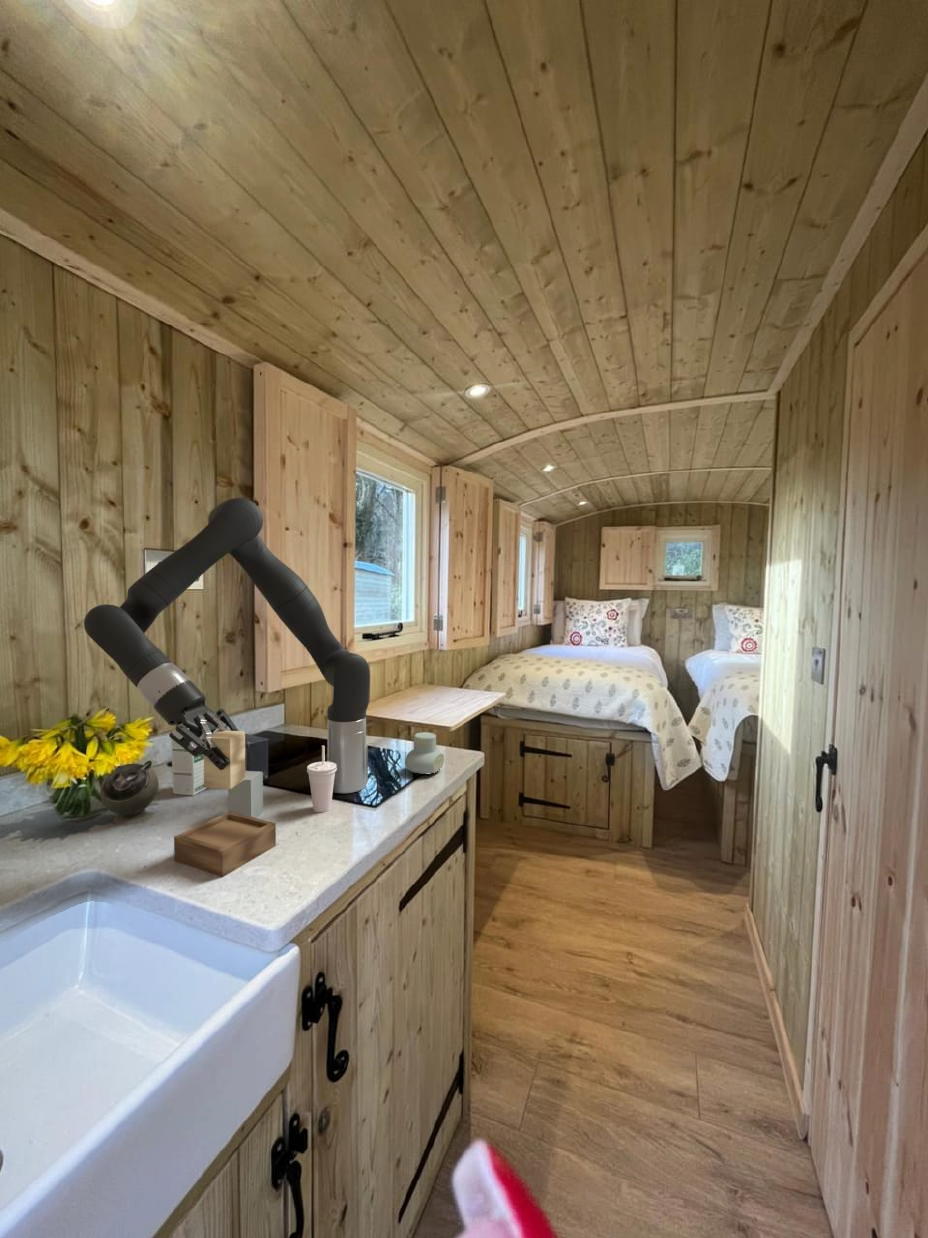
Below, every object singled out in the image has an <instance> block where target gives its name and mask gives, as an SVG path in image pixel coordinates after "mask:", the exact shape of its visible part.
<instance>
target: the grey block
mask: <svg viewBox="0 0 928 1238" xmlns="http://www.w3.org/2000/svg"><path fill="white" fill-rule="evenodd" d="M263 781H264V780H263V772H259V771H245V780H243V781H242V782H240V783H239V784H237V785H236V786H234V787H233V788H231V789H227V798H228V799H227V801H228V802H227V804H228V805H227V806H228V807H227V808H228V812H229V811H230V812H234V813H238V814H242V815H246V816H250V817H254V818H259V816H260V815H262V814H263V813H264V783H263Z"/></svg>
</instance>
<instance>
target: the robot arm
mask: <svg viewBox="0 0 928 1238" xmlns="http://www.w3.org/2000/svg"><path fill="white" fill-rule="evenodd" d="M262 513H263V512H262V511H261V509H260V507H259V506H258V505H257V504H256V503H255V502H253V501H252V500H250V499H248V498H243V497H234V498H229V499H227V500H224V501H222V502H221V503H220V504H218V505H216V506H215V507H214V508H213V509H212V510H211V511H210V513H209V515H208V521H207V522H208V524H207V525H206V526H205V527H204V528H203V529H202V530H200V532H198V533H197V534H196V535H195V536H194V537H193V538H192V539H190V540H188V542H186V543H185V544H184V545H182V546H180V547H179V548H178V549H177V550H175V551H174V552H172V553H171V554H169V555H168V556H166V557H165V558H164V559H162V560H161V561H160V562H158V563H157V564H155V565H154V566H153V567H152V568H151V569H149V570H148V571H147V572H145V574H143V575H142V576H141V577H140V578H138V579H137V580H136V581H134V583H133V584H131V585H130V586H129V588H128V589H127V595H126V599H125V601H124V602H123V603H122V604H121V605H120V606H117V605H114V604H99V605H97V606H94V607H92V608H91V609H90V610H88V612H87V614H85V618H84V621H83V627H84V631H85V633H86V634H87V636H88V637H89V638H91V640H92V641H93V642H94V643H95V644H96V646H98V647H99V648H100V649H101V650H103V652H105V653H106V654H107V656H108V657H110V658H111V659H112V660H113V661H114V662H115V663H116V665H117V666H118V668H120V670H121V671H122V672H123V674H124V675H125V676H126V677H127V679H128V680H129V681H130V682H131V683H132V684H133V685H134V686H135V688H137V690H138V691H139V692H140V694H141V695H142V696H143V698H144V699H145V700H146V702H147V703H149V705H150V706H151V707H152V708H153V710H155V712H156V713H158V715H159V716H160V717H161V718H162V719H163V720H164V721H165V722H166V723H167V724H168V725H169V726H176V727H175V728H173V730H172V731H170V733H169V734H168V736H169V738H170V739H171V738H172V739H173V740H174V741H175V742H177V743H178V744H179V745H180V746H182V747H183V748H184V749H185V750H187V751H188V752H189V753H190V754H192V755H193V756H195V757H197V756H198V755H202V756H207V757H208V758H209V760H210V761H211V762H212V763H213V764H214V765H215V766H216V767H217V768H218V769H219V770H223V769H225V768H226V767H227V766H228V765H229V764H230V760H229V759H228V758H227V757H226V756H225V755H224V754H223V752H222V751H221V750H220V749H219V748H218V747H215V743H214V742H213V741H212V740H211V739H210V738H211V736H212V734H213V733H215V732H217V731H239V729H238V728H237V726H236V724H234V721H232V719H231V717H230V716H229V715H228V713H227V712H226V710H225V709H224V708H222V707H221V708H219V709H218V710H217V711H213V710H212V709H211V708H209V707H208V706H206V700H207V696H206V694H204V693H203V692H202V691H201V689H199V688H198V686H197V685H196V684H195V683H194V682H193V681H192V679H190V678H189V677H188V676H187V675H186V674H185V673H184V671H182V669H180V668H179V667H178V666H177V665H176V664H174V663H173V662H172V660H171V659H170V658H168V656H167V655H166V654H165V653H164V652H163V651H162V650H161V649H160V648H159V647H157V645H156V644H154V643H153V642H152V641H151V639H149V637H148V636H147V635H146V634H145V633H146V632H147V631H148V629H149V628H150V627H151V625H152V624H153V623H154V621H156V619H157V617H158V616H159V615H160V614H161V613H162V612H163V611H165V610H166V608H168V607H169V606H170V605H171V604H172V603H173V602H175V601H176V600H177V599H178V598H179V597H180V596H181V595H182V594H183V593H185V592H186V590H188V589H189V588H190V587H191V586H192V585H194V583H195V582H196V581H197V580H198V579H199V578H201V576H202V575H203V574H204V573H206V572H207V571H208V570H209V569H210V568H211V567H213V566H214V565H215V564H216V563H217V562H218V561H220V560H221V559H223V557H225V556H226V555H228V554H229V555H230V556H232V558H233V559H234V560H235V561H236V562H237V563H238V565H240V567H242V569H243V570H244V571H245V572H246V574H247V576H248V577H249V578H250V581H252V583H253V584H254V586H255V587H256V589H258V591H259V592H260V594H261V595H262V596H263V598H264V599H265V601H266V602H267V603H268V604H269V606H270V608H272V611H274V612H275V614H276V615H277V617H278V618H279V619H280V620H281V622H282V623H283V624H284V626H286V628H287V629H288V630H289V632H290V633H291V634H292V635H293V636H294V637H295V638H296V639H297V640H298V642H300V644H301V645H302V646H303V647H304V648H305V649H306V650H307V652H308V654H309V655H310V657H311V658H312V660H313V661H314V663H315V665H316V666H317V668H318V669H319V672H320V674H321V675H322V677H323V678H324V679H325V681H326V682H327V683H328V684H329V685H330V686H332V689H333V690H332V703H331V704H330V705H329V706H328V707H327V713H326V714H327V719H326V720H327V724H326V725H327V762H333V763H335V764H336V765H337V770H336V771H335V777H334V785H333V793H334V794H335V793H337V794H351V793H355V792H360V791H362V790H363V789H365V788H366V786H367V783H369V782H368V780H369V775H368V773H369V768H368V767H369V764H368V763H369V760H368V758H369V757H368V755H369V747H368V745H367V709H368V708H369V704H370V687H371V672H370V666H369V663H368V661H367V660H366V658H364V657H363V656H362V655H360V654H358V653H352V652H351V651H348V649H346V648H345V647H344V646H343V645H342V644H341V642H340V641H339V640H338V638H337V637H336V636H335V635H334V634H333V632H332V631H331V629H330V627H329V624H328V622H327V620H326V616H325V614H324V611H323V609H322V606H321V604H320V602H319V601H318V600H317V597H316V596H315V595H314V594H313V592H312V591H311V589H310V587H309V586H308V585H307V584H306V582H305V581H304V580H303V579H302V578H301V577H300V575H298V574H297V573H296V572H294V570H293V569H292V568H290V567H289V566H288V565H287V564H286V563H284V562H283V561H282V560H280V559H279V558H278V557H277V556H276V555H274V554H273V552H272V551H271V550H270V549H269V548H268V547H267V545H266V544H265V542H264V541H263V539H262V538H261V535H259V534H260V532H262V531H261V530H262V529H263V524H264V516H263V514H262ZM204 741H205V742H206V743H204ZM190 742H192V744H193V746H195V747H196V748H194V747H193V746H191V745H190ZM214 747H215V748H214ZM246 753H247V751H246V750H245V755H246Z"/></svg>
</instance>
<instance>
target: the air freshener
mask: <svg viewBox="0 0 928 1238" xmlns="http://www.w3.org/2000/svg"><path fill="white" fill-rule="evenodd" d="M436 738H437V735H436V733H433V732H427V731H423V732H417V733H415V734H414V735H413V749H412V750H410V751H409V752H408V753H407V754H406V756H405V758H404V766H405V768H406V769H407V770H409V772H411V773H413V772H414V773H413V774H415V773H420V774H426V773H434V772H436V773H438V772H439V771H440V770H441V769H442V768H443V766H444V762H445V755H444V753H443V752H442V751H440V750H439V749H437V739H436ZM440 768H441V769H440ZM439 769H440V770H439ZM438 770H439V771H438ZM437 771H438V772H437ZM434 774H435V773H434Z"/></svg>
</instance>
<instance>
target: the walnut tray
mask: <svg viewBox="0 0 928 1238" xmlns="http://www.w3.org/2000/svg"><path fill="white" fill-rule="evenodd" d="M276 825H277V824H276V822H274V821H271V820H270V821H269V820H266V819H262V818H259V817H257V818H254V817H250V816H246V815H242V814H238V813H234V812H230V811H229V812H225V813H223V814H221V815H219V816H217V817H214V818H211V819H209V820H208V821H206V822H203V823H202V824H199V825H197V826H195V827H193V828H190V829H187V830H186V831H183V832H181V833H179V834H177V835H175V836H173V860H174V862H176V863H179V864H182V865H185V866H187V867H190V868H194V869H195V870H196V869H197V870H199V871H203V872H206V873H208V874H211V875H216V876H219V877H221V878H224V877H226V876H227V875H229V874H231V873H232V872H234V871H236V870H238V869H239V868H241V867H243V866H244V865H246V864H248V863H250V862H251V861H253V860H254V859H257V858H258V857H259V856H262V855H264V854H265V853H266V852H268V851H269V850H272V849H273V848H275V847H277V836H276V835H277V832H276V831H277V826H276Z"/></svg>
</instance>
